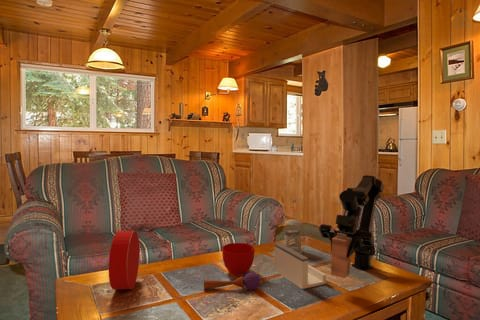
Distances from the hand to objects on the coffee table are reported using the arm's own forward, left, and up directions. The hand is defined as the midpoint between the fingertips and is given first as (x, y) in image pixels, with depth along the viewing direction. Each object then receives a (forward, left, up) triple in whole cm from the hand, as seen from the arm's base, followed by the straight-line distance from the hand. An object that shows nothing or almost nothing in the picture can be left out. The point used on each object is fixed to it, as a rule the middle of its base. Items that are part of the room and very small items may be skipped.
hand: (339, 255), depth 118 cm
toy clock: (+63, -42, -14) cm, 77 cm away
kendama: (+31, -22, -14) cm, 40 cm away
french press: (-16, -42, -14) cm, 47 cm away
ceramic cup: (+20, -35, -14) cm, 43 cm away
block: (-1, -1, -7) cm, 7 cm away
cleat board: (+3, -18, -13) cm, 22 cm away
